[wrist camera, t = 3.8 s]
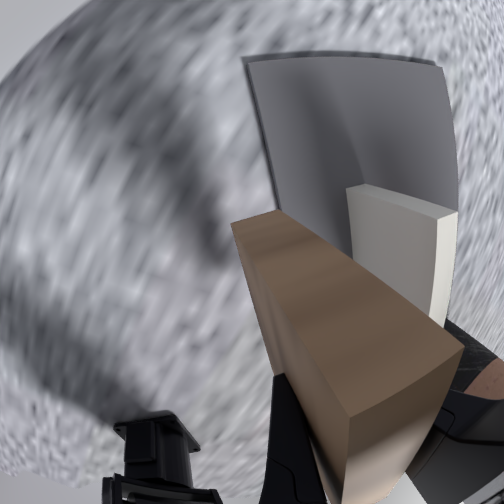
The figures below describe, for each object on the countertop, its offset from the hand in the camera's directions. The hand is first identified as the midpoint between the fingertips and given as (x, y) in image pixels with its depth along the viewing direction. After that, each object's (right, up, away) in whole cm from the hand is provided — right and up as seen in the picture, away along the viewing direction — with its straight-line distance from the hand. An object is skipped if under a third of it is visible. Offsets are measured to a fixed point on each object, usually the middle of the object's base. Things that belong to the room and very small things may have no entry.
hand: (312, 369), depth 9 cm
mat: (+7, +8, +9) cm, 14 cm away
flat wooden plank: (-1, +1, +4) cm, 4 cm away
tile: (+5, +5, +9) cm, 11 cm away
